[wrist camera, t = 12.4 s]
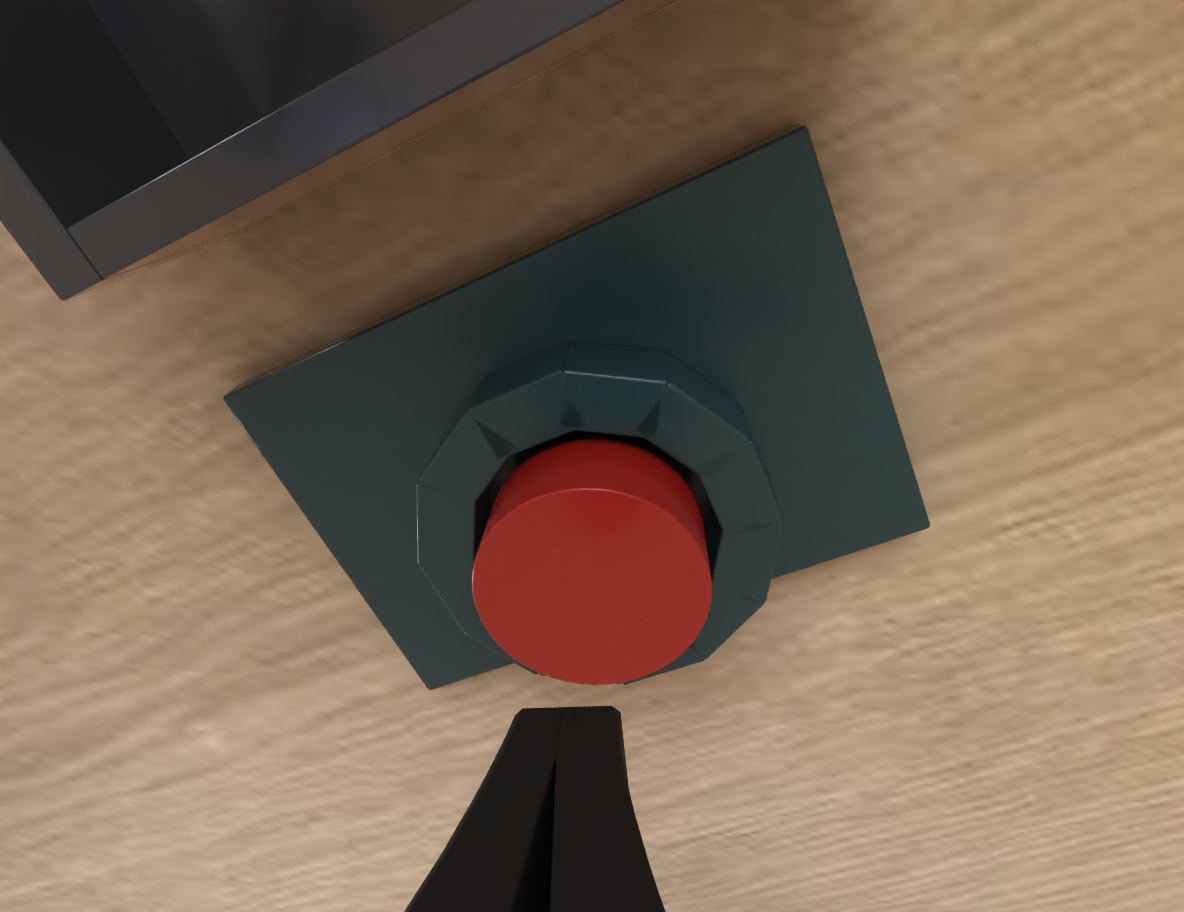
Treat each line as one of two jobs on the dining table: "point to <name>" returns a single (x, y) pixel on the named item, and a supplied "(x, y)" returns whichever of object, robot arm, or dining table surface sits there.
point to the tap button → (593, 564)
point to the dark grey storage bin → (238, 108)
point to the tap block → (606, 401)
